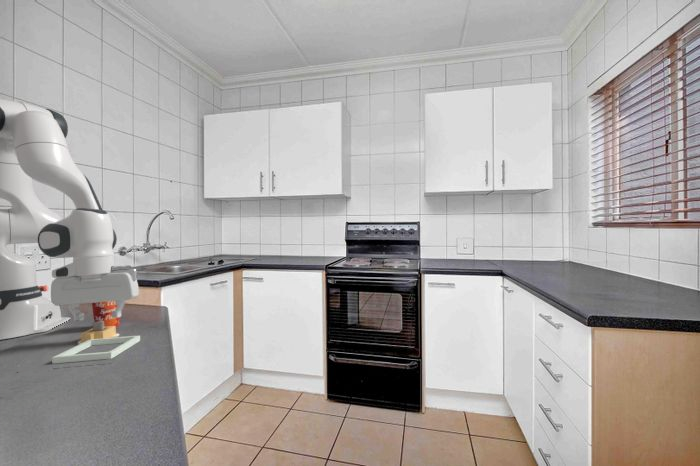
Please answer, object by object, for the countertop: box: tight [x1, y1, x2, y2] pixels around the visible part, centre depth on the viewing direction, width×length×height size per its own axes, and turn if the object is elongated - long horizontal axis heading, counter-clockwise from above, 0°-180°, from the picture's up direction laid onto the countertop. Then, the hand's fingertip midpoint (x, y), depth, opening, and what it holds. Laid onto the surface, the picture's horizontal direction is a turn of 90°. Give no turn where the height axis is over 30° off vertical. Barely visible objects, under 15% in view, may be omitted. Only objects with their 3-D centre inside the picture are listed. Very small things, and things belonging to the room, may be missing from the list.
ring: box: [80, 326, 117, 343], centre depth 86 cm, size 7×5×2 cm
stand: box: [77, 321, 120, 345], centre depth 87 cm, size 9×9×6 cm
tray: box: [51, 335, 141, 370], centre depth 76 cm, size 12×12×2 cm
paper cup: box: [91, 301, 120, 328], centre depth 98 cm, size 8×8×14 cm
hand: (98, 318), depth 86 cm, fingers open, 8 cm apart
